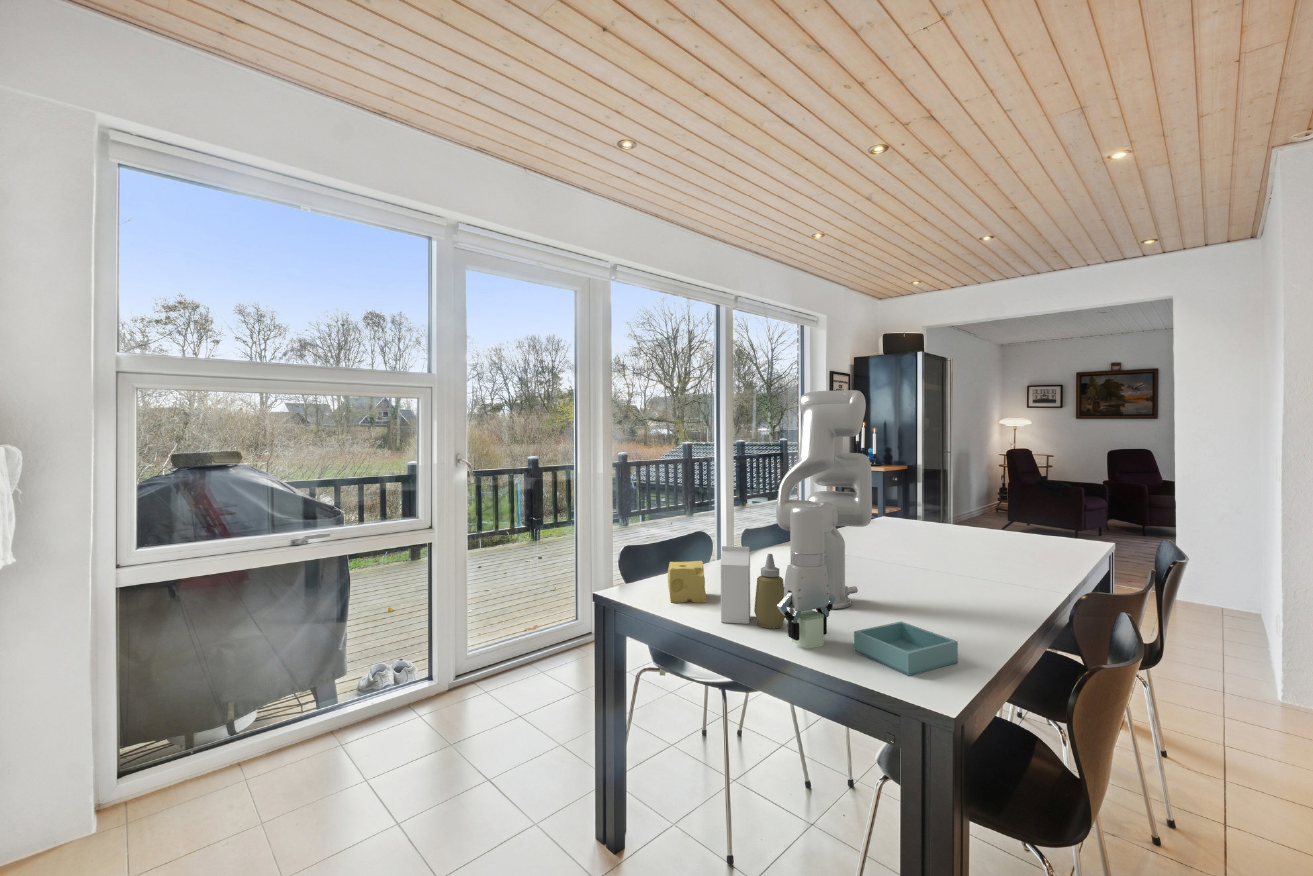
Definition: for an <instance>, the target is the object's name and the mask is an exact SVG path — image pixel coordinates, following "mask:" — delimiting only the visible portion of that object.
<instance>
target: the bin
mask: <svg viewBox="0 0 1313 876" xmlns="http://www.w3.org/2000/svg"><path fill="white" fill-rule="evenodd" d="M958 642H959V641H958V640H954V639H952V638H949V637H946V636H943V635H942V634H938V633H935V632H932V631H930V630H927V629H924V628H921V627H918V626H915V625H913V624H909V623H907V622H904V621H897V622H892V623H887V624H882V625H877V626H873V627H869V628H868V627H867V628H863V629H859V630H854V631H853V652H854V653H857V654H859V655H861V656H863V657H866V658H868V659H869V660H872V661H874V662H876V663H879V664H881V665H883V666H885V667H888V668H890V669H892V670H894V671H895V672H899V673H901V674H903V675H906V676H907V677H910V676H913V675H917V674H921V673H924V672H928V671H933V670H936V669H939V668H943V667H946V666H950V665H954V664H958V661H959V659H958V658H959V657H958V656H959V655H958V654H959V653H958V651H959V647H958V645H959V644H958Z"/></svg>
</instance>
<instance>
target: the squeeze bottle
mask: <svg viewBox="0 0 1313 876" xmlns="http://www.w3.org/2000/svg"><path fill="white" fill-rule="evenodd" d="M784 584H785V582H784V578H782V577H781V576H780V568H779V567H776V565H775V560H774V556H773V554H772V553H768V554H767V557H766V560H765V566H762V567H760V576H758V577H757V579H756V589H755V600H754V610H753V611H754V615H755V618H756V621H757V624H758V625H759V626H760V627H761V628H764V629H779V628H781V627H783V625H784V622H785V620H786V619H785V617H784V616H783V615H782V613H781V612H780V610H779V609H778V607H777V605H778V604H779V603H780V602H781V601H782V599H783V598H784Z"/></svg>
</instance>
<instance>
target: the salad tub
mask: <svg viewBox="0 0 1313 876" xmlns="http://www.w3.org/2000/svg"><path fill="white" fill-rule="evenodd" d="M794 613H795V611H794V612H793V614H792V615H794ZM823 617H824V615H823V614H821V613H818V612H817V611H816V610H814V609H812V610H807V611H801V613H800V615H799V618H798V620H797V622H798V623H799V640H797V641H796V640H794V639H792V638H791V642H792V643H794V644H795V645H798V646H799V647H802V648H804V649H806V650H807V649H811V648H817V647H822V646H824V638H825V637H824V635H823Z"/></svg>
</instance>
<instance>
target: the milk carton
mask: <svg viewBox="0 0 1313 876" xmlns="http://www.w3.org/2000/svg"><path fill="white" fill-rule="evenodd" d="M750 556H751V555H750V546H732V545H731V546H728V545H722V546H721V555H720V622H721V623H729V624H730V623H731V624H745V625H746V624H747V625H749V624H750V620H751V557H750Z"/></svg>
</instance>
